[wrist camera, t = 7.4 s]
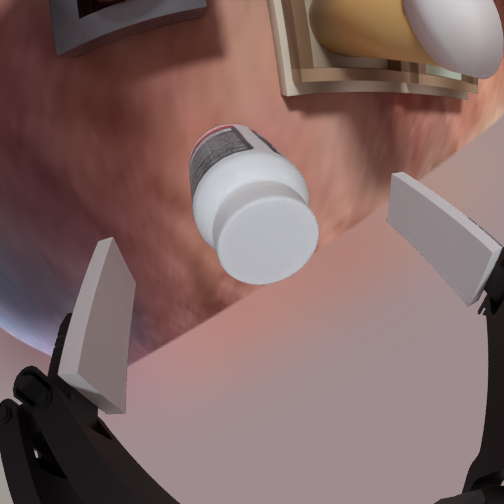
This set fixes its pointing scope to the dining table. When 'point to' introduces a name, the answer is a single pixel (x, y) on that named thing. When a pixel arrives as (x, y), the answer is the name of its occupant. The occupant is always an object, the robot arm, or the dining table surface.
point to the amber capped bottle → (413, 32)
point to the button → (110, 2)
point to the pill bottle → (251, 205)
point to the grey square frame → (113, 21)
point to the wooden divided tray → (348, 63)
